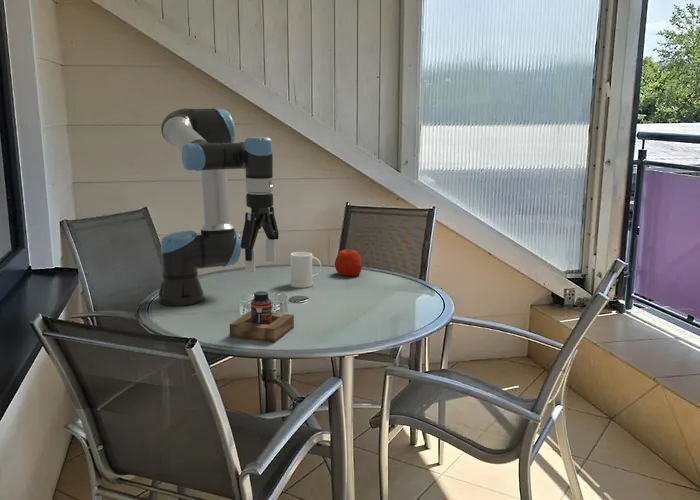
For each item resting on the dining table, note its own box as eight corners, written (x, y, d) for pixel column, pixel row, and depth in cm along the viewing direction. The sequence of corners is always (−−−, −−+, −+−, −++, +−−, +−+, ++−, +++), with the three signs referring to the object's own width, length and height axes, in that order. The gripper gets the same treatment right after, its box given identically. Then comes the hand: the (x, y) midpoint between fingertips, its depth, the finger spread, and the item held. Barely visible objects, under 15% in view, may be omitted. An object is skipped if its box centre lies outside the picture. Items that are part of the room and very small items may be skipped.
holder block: (229, 337, 186) (229, 324, 185) (251, 322, 199) (251, 310, 198) (274, 342, 181) (274, 329, 181) (293, 327, 195) (293, 314, 194)
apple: (332, 277, 256) (332, 251, 254) (337, 271, 266) (337, 245, 264) (359, 278, 254) (359, 252, 252) (363, 272, 264) (363, 246, 262)
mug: (322, 282, 248) (322, 251, 246) (321, 288, 240) (320, 256, 237) (291, 282, 248) (291, 251, 246) (289, 287, 240) (288, 256, 237)
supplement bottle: (263, 334, 186) (262, 296, 183) (247, 331, 189) (246, 293, 186) (275, 328, 191) (275, 291, 188) (259, 325, 194) (259, 288, 191)
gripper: (251, 198, 169) (253, 277, 173) (289, 188, 192) (289, 258, 197) (226, 197, 171) (228, 275, 176) (266, 187, 194) (267, 256, 199)
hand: (261, 266), depth 186 cm, fingers open, 13 cm apart
